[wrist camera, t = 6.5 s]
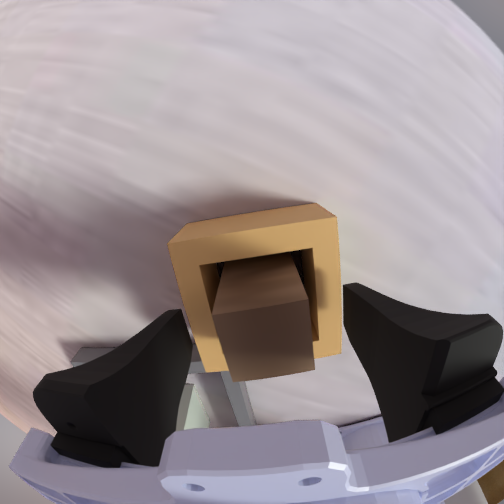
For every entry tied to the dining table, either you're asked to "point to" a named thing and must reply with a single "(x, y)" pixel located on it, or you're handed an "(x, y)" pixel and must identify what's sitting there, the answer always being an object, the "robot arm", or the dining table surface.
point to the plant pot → (493, 484)
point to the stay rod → (263, 318)
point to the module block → (191, 410)
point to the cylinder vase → (468, 495)
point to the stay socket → (251, 245)
